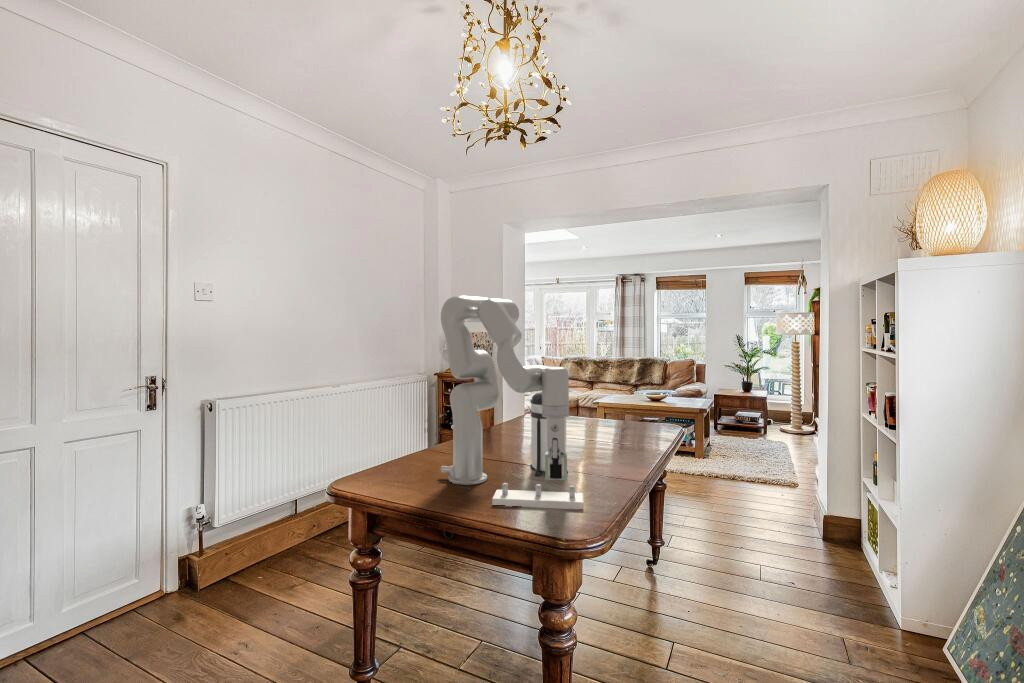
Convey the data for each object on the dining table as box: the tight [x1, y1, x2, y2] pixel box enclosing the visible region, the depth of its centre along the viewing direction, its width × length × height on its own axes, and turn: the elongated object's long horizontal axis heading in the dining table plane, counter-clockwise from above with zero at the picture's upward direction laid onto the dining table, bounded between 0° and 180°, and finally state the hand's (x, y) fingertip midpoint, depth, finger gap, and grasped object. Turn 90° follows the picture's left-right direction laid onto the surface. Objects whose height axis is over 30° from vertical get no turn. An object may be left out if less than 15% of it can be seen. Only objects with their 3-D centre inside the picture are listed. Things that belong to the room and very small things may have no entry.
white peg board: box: [491, 482, 584, 510], centre depth 141 cm, size 25×8×5 cm, turn 83°
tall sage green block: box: [544, 451, 568, 481], centre depth 140 cm, size 6×4×7 cm, turn 83°
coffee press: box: [529, 391, 569, 477], centre depth 174 cm, size 17×16×30 cm
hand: (556, 475), depth 140 cm, fingers closed on tall sage green block, 3 cm apart
